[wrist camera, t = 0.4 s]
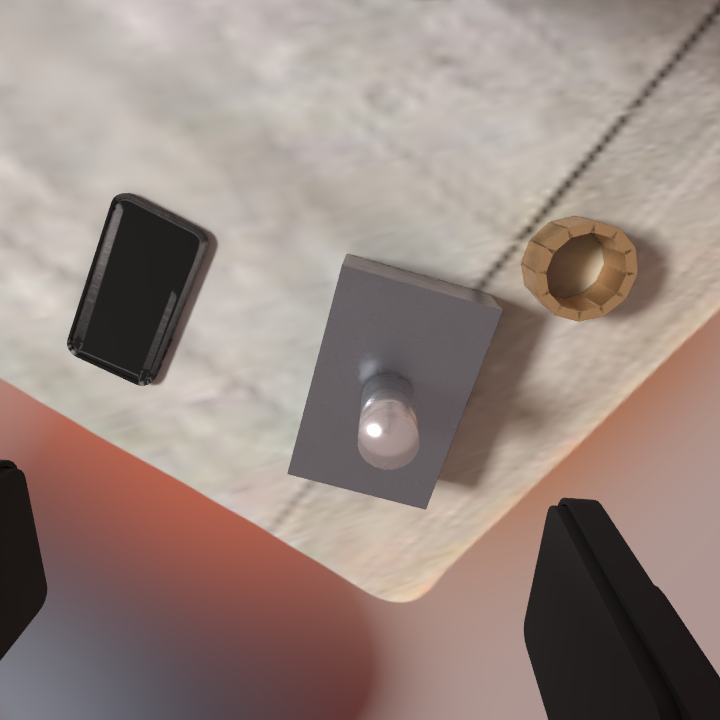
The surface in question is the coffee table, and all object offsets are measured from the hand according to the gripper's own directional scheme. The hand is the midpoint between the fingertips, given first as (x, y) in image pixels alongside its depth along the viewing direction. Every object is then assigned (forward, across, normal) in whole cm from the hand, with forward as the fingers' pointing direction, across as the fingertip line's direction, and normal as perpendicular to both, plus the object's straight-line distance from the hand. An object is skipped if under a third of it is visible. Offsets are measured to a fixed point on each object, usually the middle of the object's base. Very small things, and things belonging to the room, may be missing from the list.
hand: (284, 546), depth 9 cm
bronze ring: (+34, -16, 0) cm, 38 cm away
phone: (+35, +18, +4) cm, 40 cm away
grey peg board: (+34, -3, +10) cm, 36 cm away
